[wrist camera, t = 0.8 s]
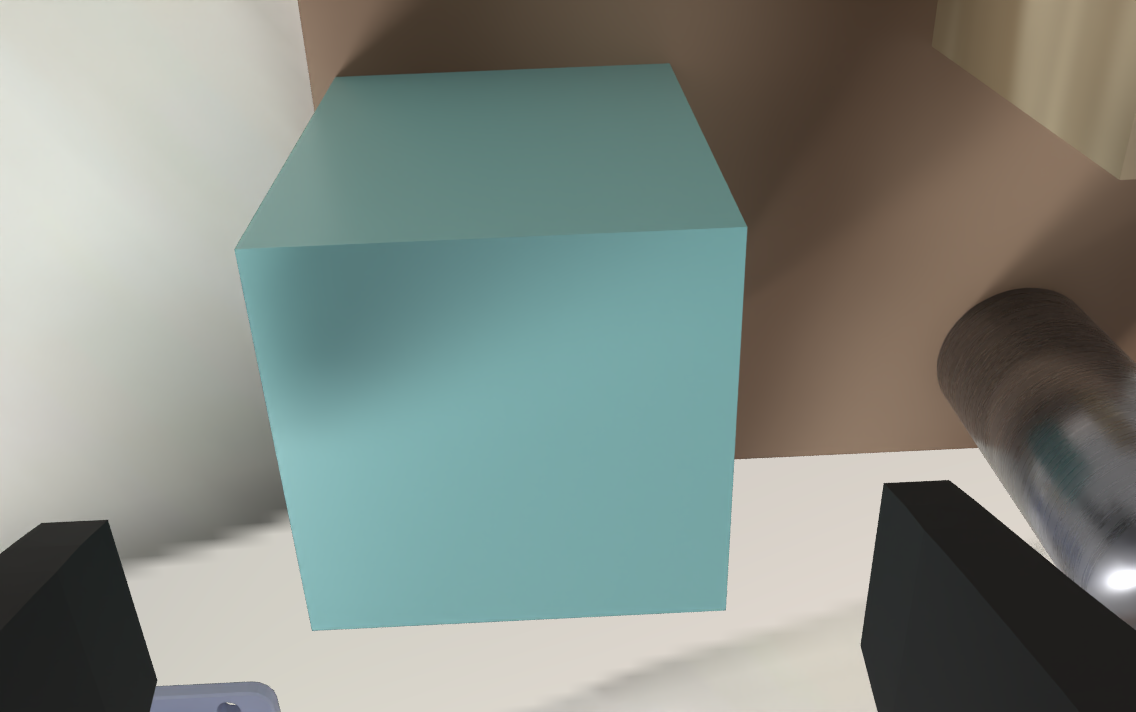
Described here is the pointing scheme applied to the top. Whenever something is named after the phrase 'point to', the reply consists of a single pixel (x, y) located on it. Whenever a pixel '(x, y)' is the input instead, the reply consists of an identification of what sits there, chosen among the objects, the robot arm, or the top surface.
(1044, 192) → the board
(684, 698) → the top surface
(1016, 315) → the metal post
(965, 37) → the maple post
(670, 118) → the teal foam cube
